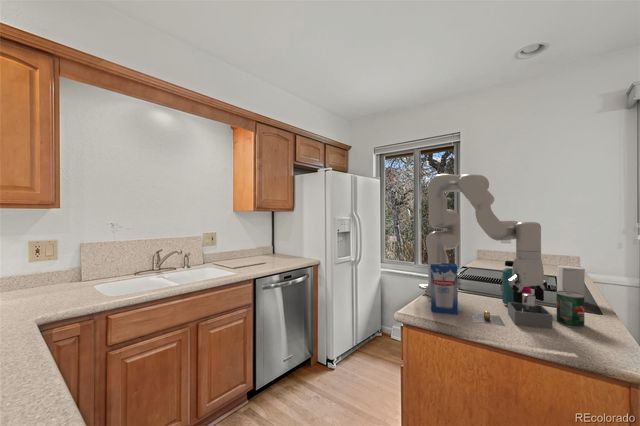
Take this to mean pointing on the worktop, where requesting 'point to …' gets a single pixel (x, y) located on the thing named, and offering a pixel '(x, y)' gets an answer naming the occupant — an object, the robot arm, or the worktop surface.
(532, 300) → the silver rounded piece
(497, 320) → the stud plate
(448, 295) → the milk carton
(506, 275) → the beverage bottle
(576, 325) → the canned tomato
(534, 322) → the bin
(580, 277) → the skincare box
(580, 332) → the worktop surface
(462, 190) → the robot arm
